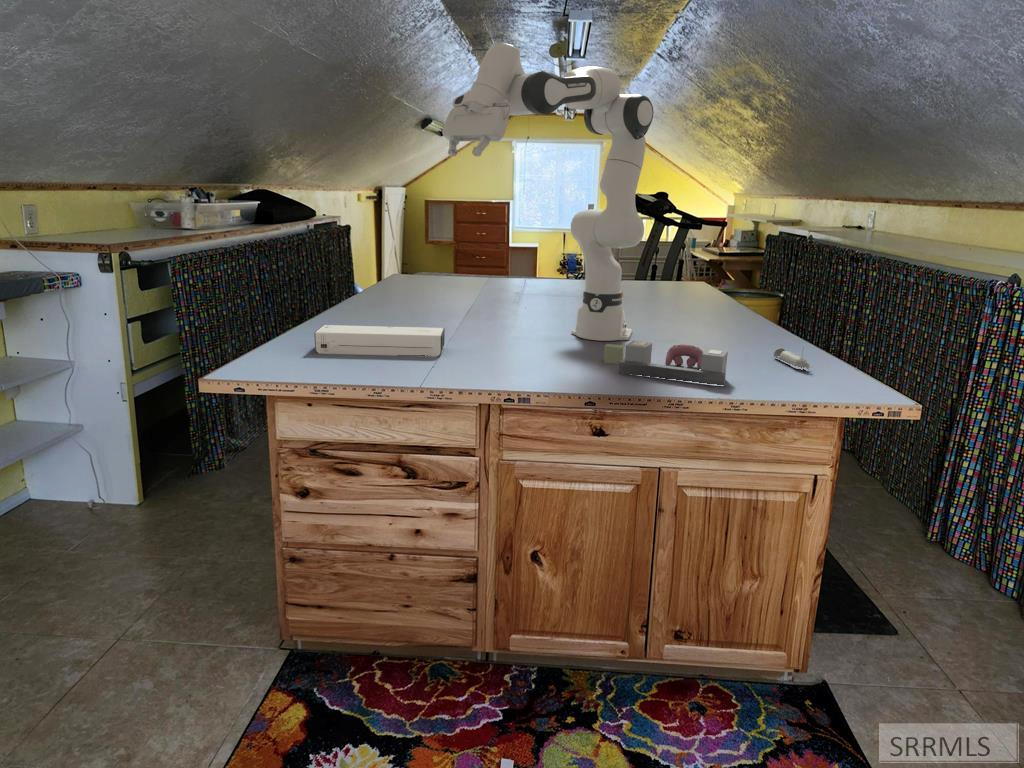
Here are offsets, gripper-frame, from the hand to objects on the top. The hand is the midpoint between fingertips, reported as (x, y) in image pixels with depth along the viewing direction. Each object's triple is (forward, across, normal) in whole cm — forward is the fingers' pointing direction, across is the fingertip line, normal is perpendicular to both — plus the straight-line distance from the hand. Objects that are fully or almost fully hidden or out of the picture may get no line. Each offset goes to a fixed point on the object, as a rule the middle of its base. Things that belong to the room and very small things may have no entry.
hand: (463, 155), depth 181 cm
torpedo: (+15, -59, -85) cm, 104 cm away
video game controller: (+27, -42, -62) cm, 79 cm away
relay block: (+32, -27, -52) cm, 67 cm away
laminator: (+52, +21, -14) cm, 58 cm away
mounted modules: (+31, -46, -52) cm, 76 cm away
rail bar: (+33, -48, -48) cm, 76 cm away
